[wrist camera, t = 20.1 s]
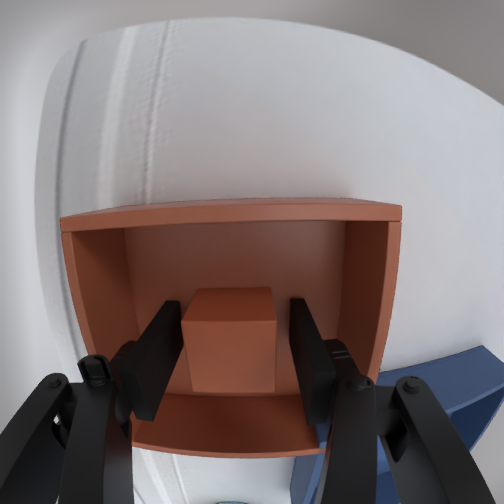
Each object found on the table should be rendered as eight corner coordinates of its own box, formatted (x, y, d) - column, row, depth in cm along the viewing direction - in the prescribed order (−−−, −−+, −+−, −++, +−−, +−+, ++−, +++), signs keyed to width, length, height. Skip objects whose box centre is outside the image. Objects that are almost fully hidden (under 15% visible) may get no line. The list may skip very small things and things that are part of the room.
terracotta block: (197, 287, 15) (179, 321, 11) (271, 286, 15) (277, 320, 11) (204, 349, 16) (192, 392, 12) (271, 348, 16) (275, 393, 12)
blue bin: (305, 382, 17) (320, 442, 12) (482, 344, 17) (517, 374, 11) (289, 489, 21) (293, 528, 15) (425, 457, 21) (440, 486, 15)
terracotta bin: (116, 206, 14) (58, 218, 9) (352, 198, 14) (402, 205, 9) (151, 392, 17) (127, 445, 12) (333, 391, 17) (354, 448, 12)
